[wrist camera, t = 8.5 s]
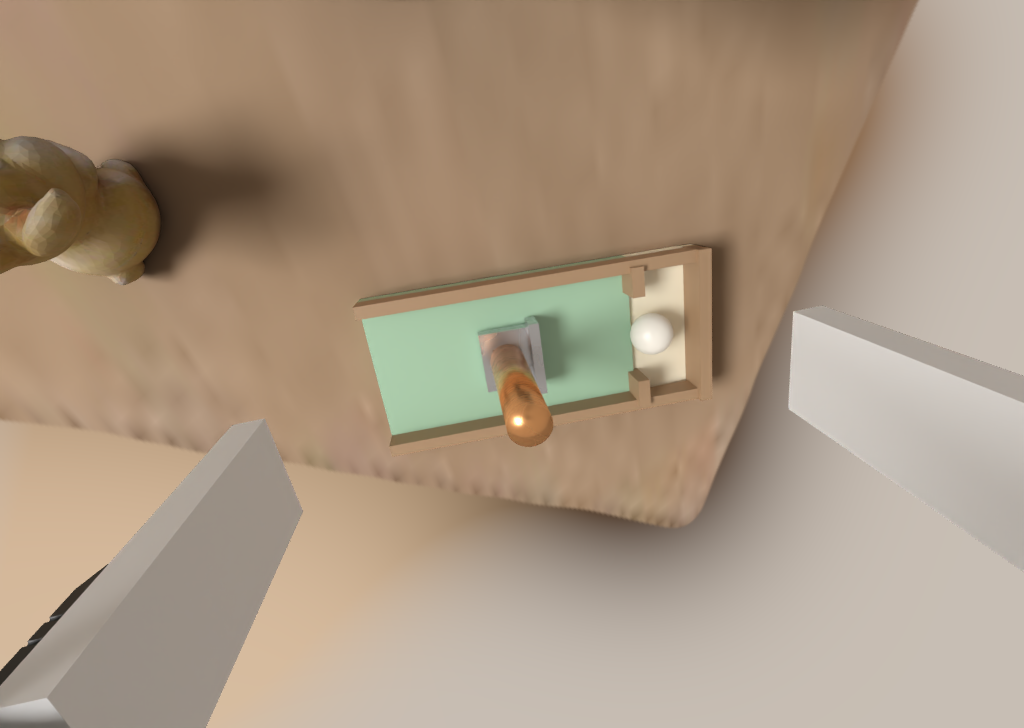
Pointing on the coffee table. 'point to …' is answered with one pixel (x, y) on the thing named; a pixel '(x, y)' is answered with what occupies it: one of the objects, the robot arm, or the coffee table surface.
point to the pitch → (542, 343)
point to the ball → (651, 333)
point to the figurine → (73, 211)
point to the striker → (518, 379)
